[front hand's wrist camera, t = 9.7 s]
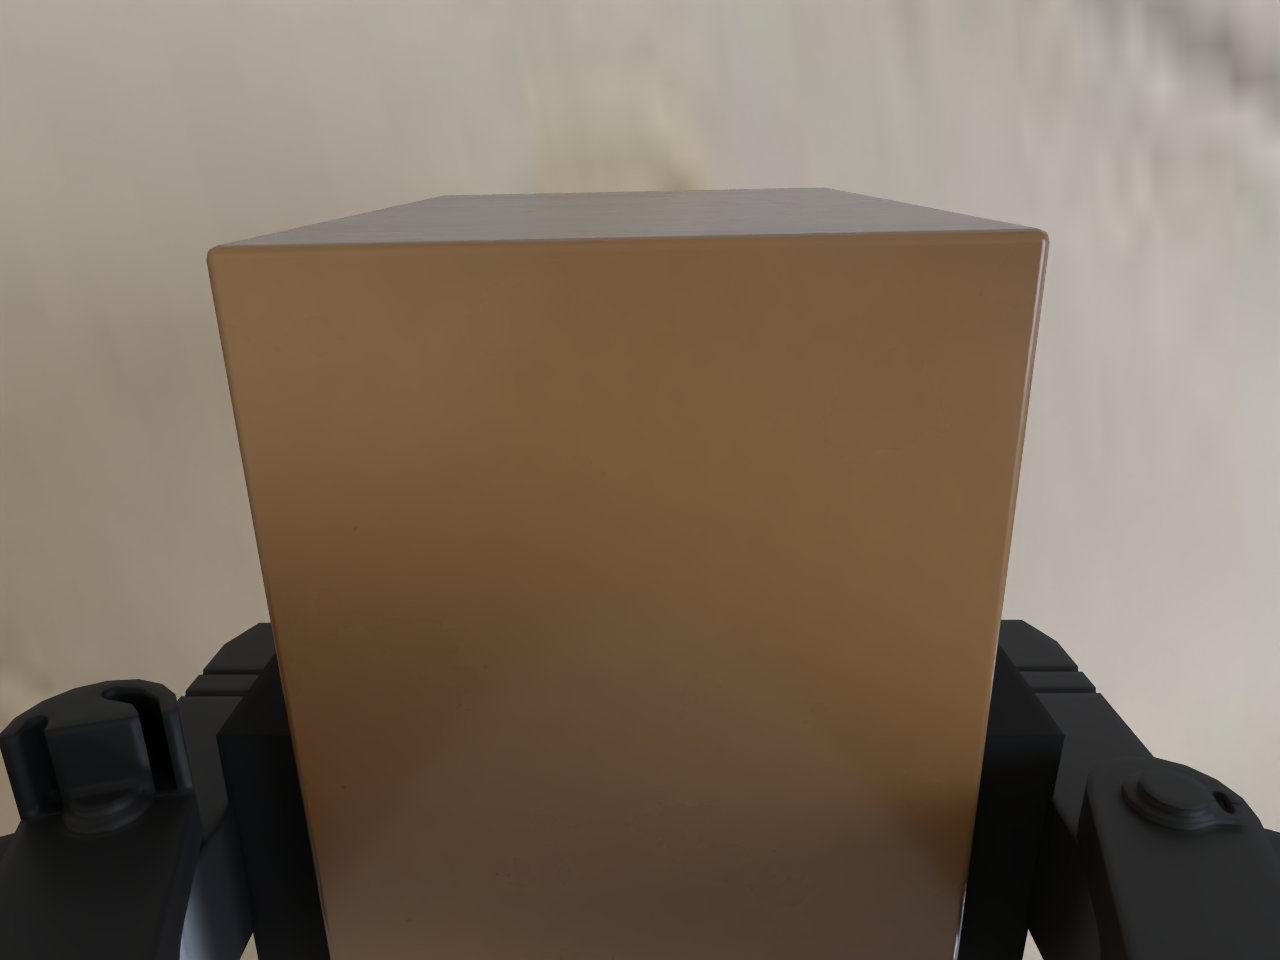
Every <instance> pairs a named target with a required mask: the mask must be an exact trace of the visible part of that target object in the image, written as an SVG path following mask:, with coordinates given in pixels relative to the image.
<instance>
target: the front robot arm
mask: <svg viewBox="0 0 1280 960" xmlns="http://www.w3.org/2000/svg"><path fill="white" fill-rule="evenodd" d="M0 749H1V752H2V756H3V759H4V763H5V766H6V770H7V773H8V777H9V780H10V783H11V787H12V790H13V794H14V797H15V801H16V804H17V808H18V811H19V815H20V818H21V822H20V824H19V826H18V828H17V830H16V832H15V833H13V834H10V835H6V836H2V837H0V960H240V958H241V956H242V954H243V951H244V949H245V947H246V945H247V943H248V941H249V939H250V937H251V935H252V933H253V934H254V939H255V944H256V949H257V954H258V960H331V958H330V953H329V947H328V942H327V936H326V930H325V925H324V919H323V913H322V908H321V902H320V896H319V891H318V885H317V880H316V874H315V868H314V863H313V857H312V851H311V846H310V840H309V835H308V829H307V823H306V818H305V812H304V806H303V801H302V795H301V789H300V784H299V778H298V773H297V767H296V761H295V756H294V750H293V744H292V739H291V733H290V727H289V722H288V716H287V711H286V705H285V699H284V694H283V688H282V682H281V677H280V671H279V666H278V660H277V654H276V649H275V643H274V637H273V632H272V626H271V623H258V624H257V625H255V626H253V627H252V628H250V629H249V630H247V631H245V632H244V633H242V634H241V635H239V636H237V637H236V638H234V639H233V640H231V641H229V642H228V643H226V644H224V646H223V647H222V648H221V649H220V650H219V652H218V653H217V654H216V655H215V656H214V658H213V659H212V660H211V661H210V662H209V664H208V665H207V666H206V667H205V668H204V670H203V675H199V676H198V677H197V678H196V679H195V680H194V682H193V683H192V684H191V685H190V686H189V688H188V689H187V690H186V695H185V696H181V697H180V698H179V700H178V701H177V699H176V695H175V694H174V693H173V692H172V691H170V690H169V689H168V688H166V687H165V686H164V685H163V684H159V683H154V682H149V681H144V680H140V679H135V680H114V681H105V682H101V683H96V684H92V685H88V686H83V687H79V688H75V689H72V690H69V691H67V692H64V693H62V694H59V695H57V696H54V697H52V698H49V699H47V700H44V701H42V702H40V703H39V704H37V705H35V706H34V707H32V708H31V709H29V710H27V711H26V712H24V713H22V714H21V715H19V716H18V717H16V718H15V719H14V720H13V721H12V722H11V723H10V724H9V725H8V726H7V727H6V728H5V729H4V730H3V731H2V732H1V733H0ZM1028 929H1029V931H1030V933H1031V935H1032V937H1033V939H1034V941H1035V943H1036V945H1037V947H1038V949H1039V951H1040V953H1041V955H1042V957H1043V959H1044V960H1280V833H1279V832H1275V831H1272V830H1268V829H1264V828H1263V826H1262V824H1261V822H1260V820H1259V818H1258V817H1257V816H1256V815H1255V813H1254V812H1253V811H1252V809H1251V808H1250V807H1249V806H1248V804H1247V803H1246V802H1245V801H1244V799H1243V798H1242V797H1240V796H1239V795H1237V794H1236V793H1235V792H1233V791H1232V790H1230V789H1229V788H1228V787H1226V786H1225V785H1224V784H1222V783H1221V782H1219V781H1218V780H1216V779H1214V778H1212V777H1210V776H1208V775H1205V774H1203V773H1201V772H1199V771H1197V770H1195V769H1192V768H1190V767H1188V766H1186V765H1182V764H1178V763H1174V762H1170V761H1167V760H1163V759H1159V758H1155V757H1153V755H1152V754H1151V753H1150V752H1149V751H1148V749H1147V748H1146V747H1145V746H1144V745H1143V744H1142V742H1141V741H1140V740H1139V739H1138V738H1137V736H1136V735H1135V734H1134V733H1133V732H1132V730H1131V729H1130V728H1129V727H1128V726H1127V724H1126V723H1125V722H1124V721H1123V720H1122V719H1121V717H1120V716H1119V715H1118V714H1117V713H1116V711H1115V710H1114V709H1113V708H1112V707H1111V705H1110V704H1109V703H1108V702H1107V701H1106V699H1105V698H1104V697H1103V696H1102V695H1101V693H1096V688H1095V686H1094V685H1093V684H1092V683H1091V682H1090V680H1089V679H1088V678H1087V677H1086V676H1085V674H1084V673H1083V672H1078V666H1077V665H1076V664H1075V663H1074V661H1073V660H1072V659H1071V658H1070V657H1069V655H1068V654H1067V653H1066V652H1065V651H1064V649H1063V648H1062V647H1061V646H1060V645H1059V643H1058V642H1057V641H1055V640H1054V639H1052V638H1050V637H1049V636H1047V635H1045V634H1044V633H1042V632H1041V631H1039V630H1037V629H1036V628H1034V627H1033V626H1031V625H1029V624H1028V623H1026V622H1024V621H1023V620H1001V623H1000V631H999V639H998V646H997V654H996V662H995V670H994V677H993V685H992V693H991V701H990V709H989V716H988V724H987V732H986V740H985V747H984V755H983V763H982V771H981V779H980V786H979V794H978V802H977V810H976V817H975V825H974V833H973V841H972V849H971V856H970V864H969V872H968V880H967V887H966V895H965V903H964V911H963V919H962V926H961V934H960V942H959V950H958V957H957V960H1022V958H1023V953H1024V948H1025V942H1026V937H1027V932H1028Z"/></svg>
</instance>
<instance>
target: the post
mask: <svg viewBox="0 0 1280 960" xmlns="http://www.w3.org/2000/svg"><path fill="white" fill-rule="evenodd" d="M1048 250H1049V238H1048V234H1047V232H1045V231H1042V230H1040V229H1037V228H1032V227H1027V226H1022V225H1016V224H1011V223H1006V222H1001V221H995V220H990V219H985V218H980V217H975V216H969V215H964V214H959V213H954V212H948V211H943V210H938V209H933V208H928V207H922V206H917V205H912V204H907V203H902V202H896V201H891V200H886V199H881V198H875V197H870V196H865V195H860V194H855V193H849V192H844V191H839V190H834V189H828V188H787V189H739V190H692V191H645V192H597V193H550V194H502V195H455V196H440V197H436V198H431V199H427V200H422V201H418V202H413V203H409V204H404V205H399V206H395V207H390V208H386V209H381V210H377V211H372V212H368V213H363V214H359V215H354V216H350V217H345V218H341V219H336V220H332V221H327V222H322V223H318V224H313V225H309V226H304V227H300V228H295V229H291V230H286V231H282V232H277V233H273V234H268V235H264V236H259V237H254V238H250V239H245V240H241V241H236V242H232V243H227V244H223V245H218V246H216V247H214V248H212V249H210V250H209V251H208V253H207V266H208V271H209V277H210V282H211V288H212V294H213V299H214V305H215V311H216V316H217V322H218V328H219V333H220V339H221V344H222V350H223V356H224V361H225V367H226V373H227V378H228V384H229V389H230V395H231V401H232V406H233V412H234V418H235V423H236V429H237V435H238V440H239V446H240V451H241V457H242V463H243V468H244V474H245V480H246V485H247V491H248V497H249V502H250V508H251V513H252V519H253V525H254V530H255V536H256V542H257V547H258V553H259V558H260V564H261V570H262V575H263V581H264V587H265V592H266V598H267V604H268V609H269V615H270V620H271V626H272V632H273V637H274V643H275V649H276V654H277V660H278V666H279V671H280V677H281V682H282V688H283V694H284V699H285V705H286V711H287V716H288V722H289V727H290V733H291V739H292V744H293V750H294V756H295V761H296V767H297V773H298V778H299V784H300V789H301V795H302V801H303V806H304V812H305V818H306V823H307V829H308V835H309V840H310V846H311V851H312V857H313V863H314V868H315V874H316V880H317V885H318V891H319V896H320V902H321V908H322V913H323V919H324V925H325V930H326V936H327V942H328V947H329V953H330V958H331V960H957V957H958V950H959V942H960V934H961V926H962V919H963V911H964V903H965V895H966V887H967V880H968V872H969V864H970V856H971V849H972V841H973V833H974V825H975V817H976V810H977V802H978V794H979V786H980V779H981V771H982V763H983V755H984V747H985V740H986V732H987V724H988V716H989V709H990V701H991V693H992V685H993V677H994V670H995V662H996V654H997V646H998V639H999V631H1000V623H1001V615H1002V607H1003V600H1004V592H1005V584H1006V576H1007V568H1008V561H1009V553H1010V545H1011V537H1012V530H1013V522H1014V514H1015V506H1016V498H1017V491H1018V483H1019V475H1020V467H1021V460H1022V452H1023V444H1024V436H1025V428H1026V421H1027V413H1028V405H1029V397H1030V390H1031V382H1032V374H1033V366H1034V358H1035V351H1036V343H1037V335H1038V327H1039V320H1040V312H1041V304H1042V296H1043V288H1044V281H1045V273H1046V265H1047V257H1048Z"/></svg>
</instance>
